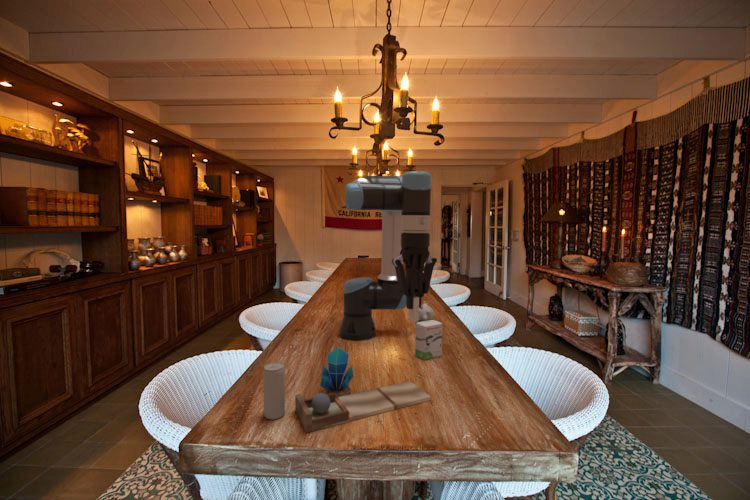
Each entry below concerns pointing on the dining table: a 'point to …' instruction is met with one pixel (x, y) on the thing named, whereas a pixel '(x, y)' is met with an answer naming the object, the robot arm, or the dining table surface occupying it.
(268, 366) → the beverage can
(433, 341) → the ink box
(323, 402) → the ball
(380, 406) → the lane
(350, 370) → the gemstone
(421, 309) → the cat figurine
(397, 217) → the robot arm
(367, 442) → the dining table surface
